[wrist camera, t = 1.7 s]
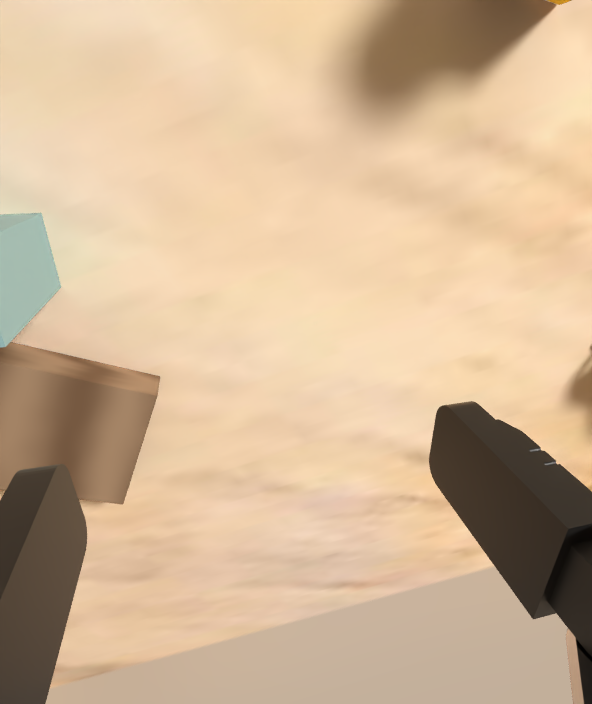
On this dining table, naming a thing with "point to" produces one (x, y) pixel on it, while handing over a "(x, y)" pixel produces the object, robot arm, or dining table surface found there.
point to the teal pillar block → (24, 272)
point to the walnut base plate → (73, 419)
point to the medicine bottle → (558, 1)
